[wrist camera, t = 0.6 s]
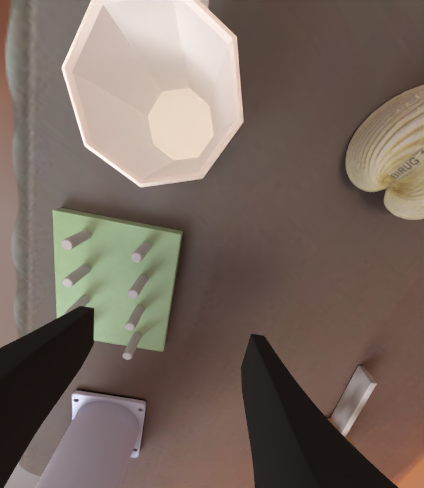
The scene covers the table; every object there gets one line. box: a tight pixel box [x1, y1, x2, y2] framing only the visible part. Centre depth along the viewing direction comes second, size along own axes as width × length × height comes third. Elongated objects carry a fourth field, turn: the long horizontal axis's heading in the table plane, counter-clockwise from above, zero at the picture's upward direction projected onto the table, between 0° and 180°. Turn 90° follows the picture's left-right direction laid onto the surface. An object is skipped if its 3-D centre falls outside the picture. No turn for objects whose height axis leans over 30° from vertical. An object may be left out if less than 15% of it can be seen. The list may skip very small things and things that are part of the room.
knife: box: [327, 365, 377, 447], centre depth 24 cm, size 13×2×3 cm, turn 169°
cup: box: [62, 0, 244, 187], centre depth 12 cm, size 7×10×8 cm
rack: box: [53, 208, 183, 360], centre depth 19 cm, size 12×10×4 cm
